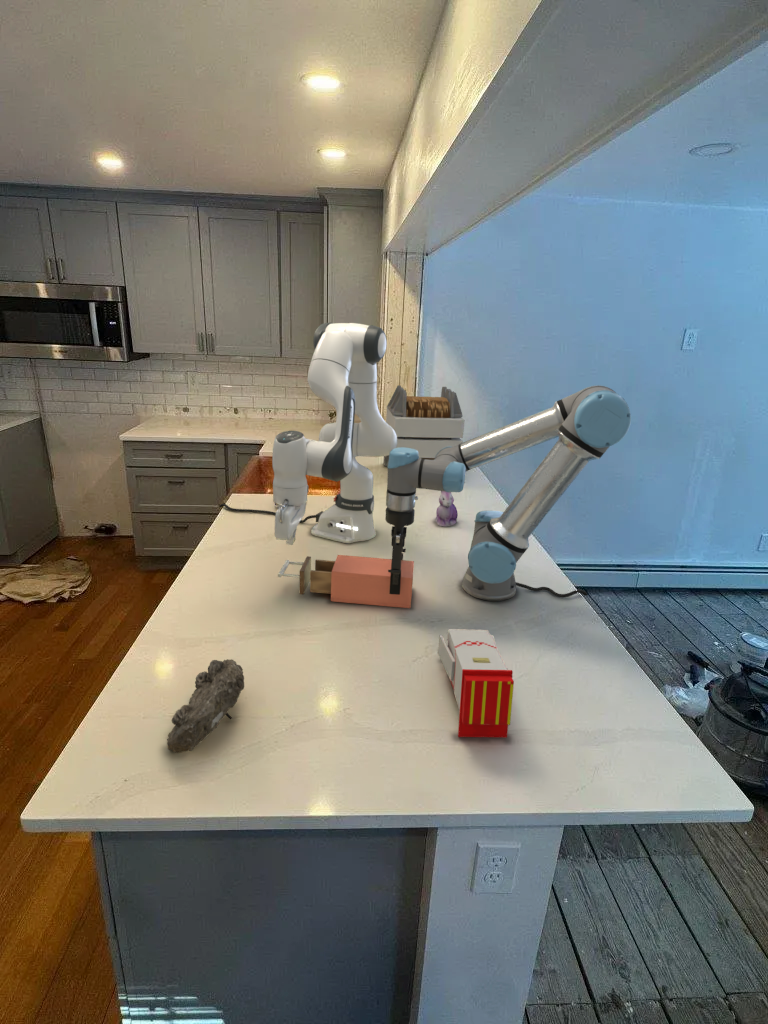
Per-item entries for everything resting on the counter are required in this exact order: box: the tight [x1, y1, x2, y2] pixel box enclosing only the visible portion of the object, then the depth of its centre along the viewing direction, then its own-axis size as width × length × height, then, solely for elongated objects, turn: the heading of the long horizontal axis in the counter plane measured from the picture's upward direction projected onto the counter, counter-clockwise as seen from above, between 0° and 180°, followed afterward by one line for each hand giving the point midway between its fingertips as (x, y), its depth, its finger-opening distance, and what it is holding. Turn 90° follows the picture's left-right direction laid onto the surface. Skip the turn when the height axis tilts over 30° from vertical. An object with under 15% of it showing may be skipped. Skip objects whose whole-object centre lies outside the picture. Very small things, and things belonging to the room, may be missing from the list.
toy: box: [437, 628, 515, 738], centre depth 117 cm, size 12×13×30 cm
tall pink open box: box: [330, 554, 415, 609], centre depth 155 cm, size 21×11×9 cm, turn 86°
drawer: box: [277, 555, 336, 595], centre depth 155 cm, size 26×10×7 cm, turn 86°
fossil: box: [166, 658, 245, 754], centre depth 106 cm, size 22×10×15 cm
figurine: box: [434, 491, 459, 527], centre depth 210 cm, size 9×10×15 cm
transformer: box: [383, 384, 465, 467], centre depth 268 cm, size 34×33×41 cm
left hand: (290, 543), depth 153 cm, fingers closed
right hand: (395, 583), depth 154 cm, fingers closed on tall pink open box, 11 cm apart
